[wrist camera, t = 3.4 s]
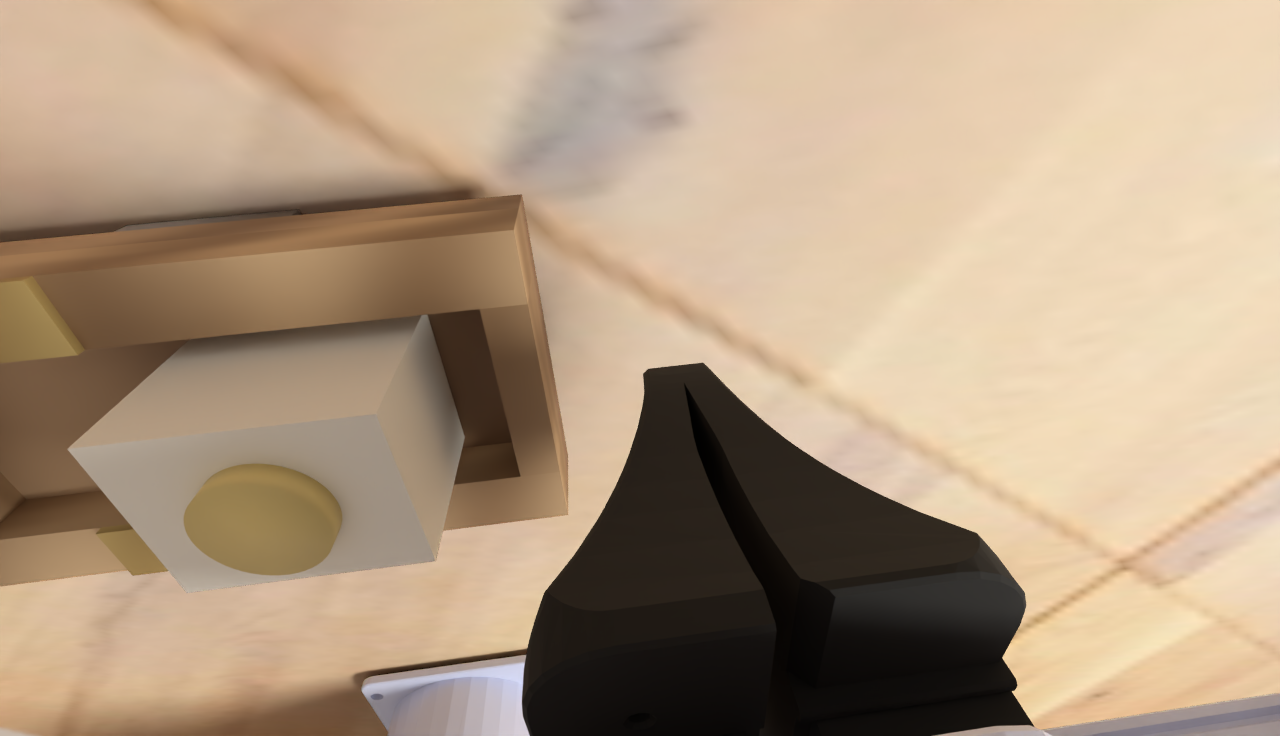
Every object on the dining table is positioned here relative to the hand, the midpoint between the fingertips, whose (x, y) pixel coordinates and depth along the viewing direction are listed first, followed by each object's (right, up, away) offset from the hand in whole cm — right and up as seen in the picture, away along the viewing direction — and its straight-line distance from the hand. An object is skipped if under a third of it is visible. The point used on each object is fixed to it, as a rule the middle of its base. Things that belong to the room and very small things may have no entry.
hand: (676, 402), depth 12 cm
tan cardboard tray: (-11, +1, +3) cm, 11 cm away
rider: (-8, 0, +1) cm, 8 cm away
